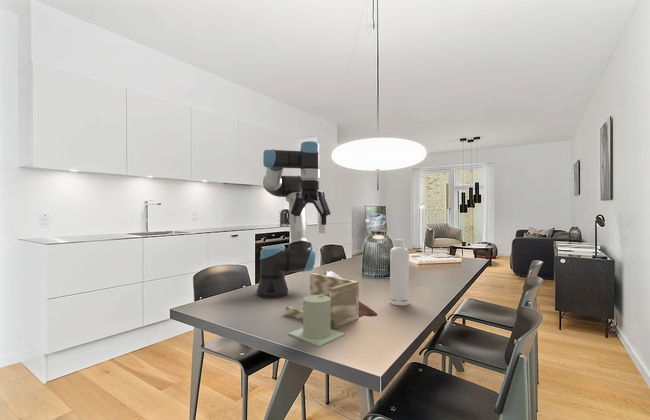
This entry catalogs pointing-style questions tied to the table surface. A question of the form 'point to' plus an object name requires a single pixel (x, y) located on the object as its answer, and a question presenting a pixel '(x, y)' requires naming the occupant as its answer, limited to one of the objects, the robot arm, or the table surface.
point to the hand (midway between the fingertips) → (309, 232)
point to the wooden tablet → (365, 310)
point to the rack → (334, 298)
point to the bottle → (399, 273)
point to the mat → (317, 342)
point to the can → (316, 316)
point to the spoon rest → (331, 274)
